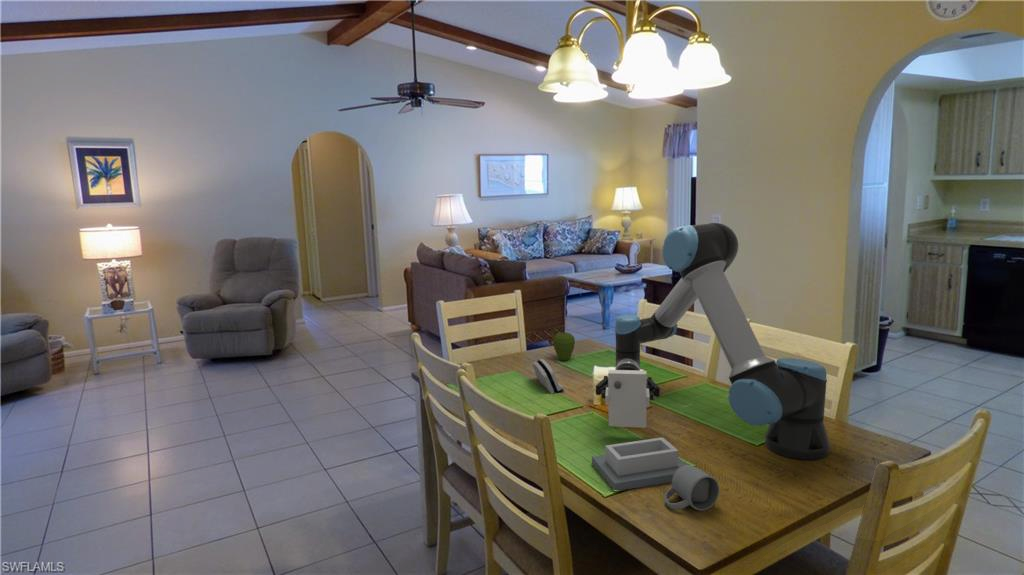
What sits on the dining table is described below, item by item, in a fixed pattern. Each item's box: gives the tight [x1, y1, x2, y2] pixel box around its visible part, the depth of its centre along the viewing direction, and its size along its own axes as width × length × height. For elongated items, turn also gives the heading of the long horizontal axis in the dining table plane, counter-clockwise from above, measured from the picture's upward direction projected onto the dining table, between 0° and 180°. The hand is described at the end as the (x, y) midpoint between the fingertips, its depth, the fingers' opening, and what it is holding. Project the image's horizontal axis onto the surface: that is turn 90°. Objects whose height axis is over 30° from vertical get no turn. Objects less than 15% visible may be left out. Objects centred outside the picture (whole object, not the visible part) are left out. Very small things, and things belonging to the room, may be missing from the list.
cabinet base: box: [591, 436, 687, 491], centre depth 146 cm, size 20×14×6 cm
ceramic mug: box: [663, 464, 720, 512], centre depth 131 cm, size 11×8×8 cm
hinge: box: [531, 358, 566, 394], centre depth 207 cm, size 17×5×10 cm, turn 14°
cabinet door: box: [607, 369, 647, 429], centre depth 162 cm, size 10×4×15 cm, turn 79°
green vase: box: [552, 331, 576, 362], centre depth 235 cm, size 9×8×12 cm
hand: (627, 401), depth 158 cm, fingers closed on cabinet door, 10 cm apart
